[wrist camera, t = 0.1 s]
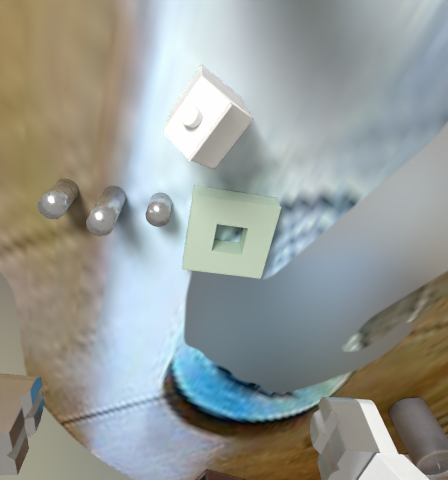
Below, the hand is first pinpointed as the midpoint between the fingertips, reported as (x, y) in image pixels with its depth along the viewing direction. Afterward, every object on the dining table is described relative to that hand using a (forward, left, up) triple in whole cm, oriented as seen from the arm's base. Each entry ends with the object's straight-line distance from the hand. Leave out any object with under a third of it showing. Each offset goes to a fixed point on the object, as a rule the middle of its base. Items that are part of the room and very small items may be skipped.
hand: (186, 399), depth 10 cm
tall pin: (+16, -12, -48) cm, 52 cm away
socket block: (+19, +8, -48) cm, 52 cm away
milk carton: (-1, +1, -48) cm, 48 cm away
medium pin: (+16, -19, -48) cm, 54 cm away
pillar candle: (+64, +64, -48) cm, 103 cm away
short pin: (+16, -4, -48) cm, 51 cm away
